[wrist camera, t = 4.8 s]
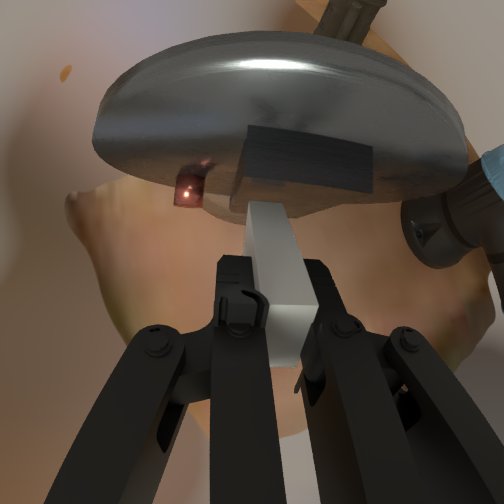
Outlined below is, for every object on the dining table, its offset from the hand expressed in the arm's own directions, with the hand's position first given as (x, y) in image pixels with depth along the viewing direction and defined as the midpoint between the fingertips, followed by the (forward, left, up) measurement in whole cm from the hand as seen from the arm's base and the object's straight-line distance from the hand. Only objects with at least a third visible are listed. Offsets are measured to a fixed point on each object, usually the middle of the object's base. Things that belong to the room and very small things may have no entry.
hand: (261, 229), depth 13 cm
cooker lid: (+1, -6, -2) cm, 6 cm away
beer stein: (0, -50, -25) cm, 56 cm away
